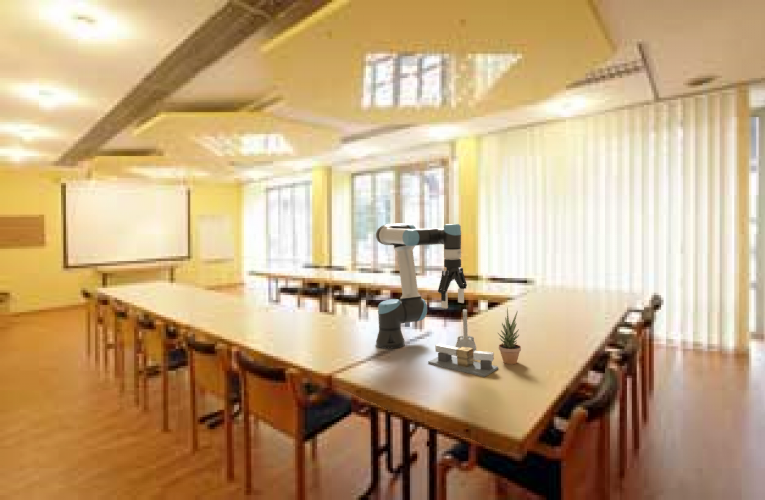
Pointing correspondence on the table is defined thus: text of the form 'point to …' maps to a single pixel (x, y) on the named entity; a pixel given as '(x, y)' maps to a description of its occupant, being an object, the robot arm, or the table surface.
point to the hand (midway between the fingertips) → (453, 305)
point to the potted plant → (509, 342)
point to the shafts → (453, 350)
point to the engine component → (465, 336)
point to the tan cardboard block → (465, 356)
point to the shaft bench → (451, 363)
